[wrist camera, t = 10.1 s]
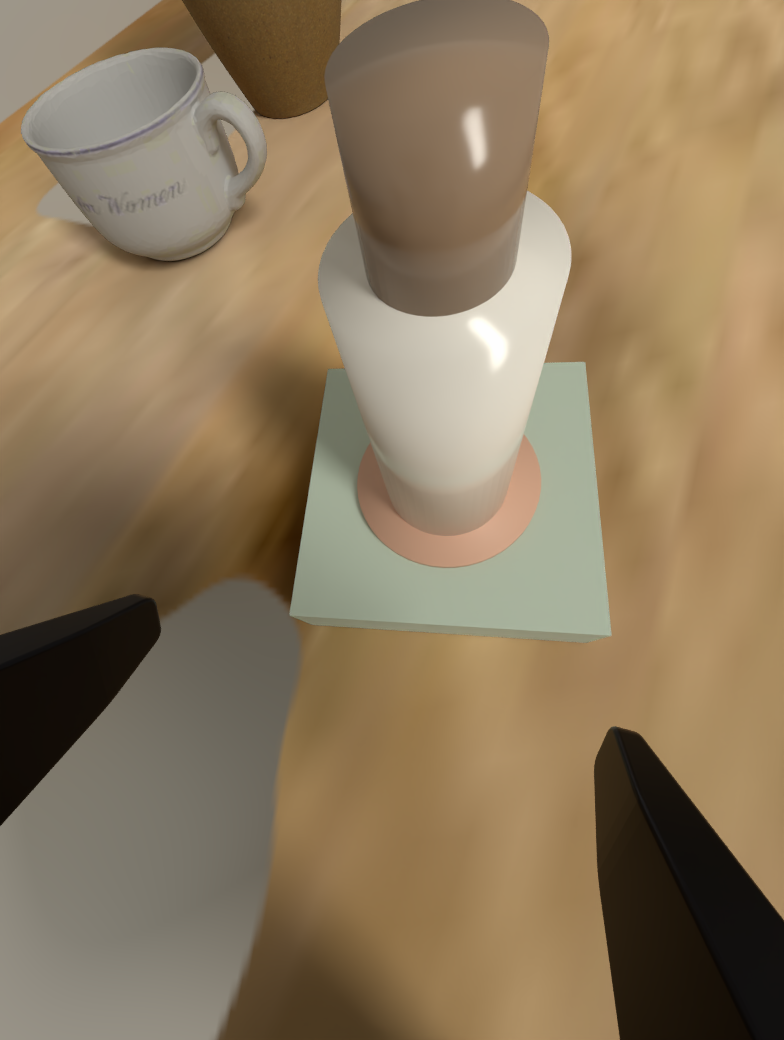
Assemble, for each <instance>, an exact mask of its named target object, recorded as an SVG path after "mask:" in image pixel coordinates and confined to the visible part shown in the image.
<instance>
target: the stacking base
mask: <svg viewBox="0 0 784 1040" xmlns="http://www.w3.org/2000/svg"><path fill="white" fill-rule="evenodd" d="M289 616H292V617H294V618H297V619H299V620H302V621H304V622H307V623H309V624H312V625H323V626H338V627H354V628H369V629H384V630H399V631H414V632H430V633H445V634H460V635H475V636H491V637H506V638H521V639H536V640H552V641H567V642H582V643H588V642H591V641H595V640H598V639H602V638H605V637H609V636H611V626H610V615H609V605H608V595H607V584H606V574H605V564H604V553H603V543H602V532H601V522H600V512H599V501H598V491H597V481H596V470H595V460H594V449H593V439H592V429H591V418H590V408H589V398H588V387H587V377H586V366H585V362H561V363H544V364H543V367H542V371H541V375H540V378H539V382H538V385H537V389H536V392H535V396H534V399H533V403H532V406H531V410H530V413H529V417H528V420H527V424H526V428H525V431H524V435H523V438H522V442H521V445H520V449H519V452H518V456H517V459H516V463H515V466H514V470H513V473H512V477H511V480H510V484H509V488H508V491H507V495H506V497H505V500H504V502H503V504H502V506H501V508H500V509H499V511H498V512H497V513H496V515H495V516H494V517H493V518H492V519H491V520H489V521H488V522H487V523H486V524H484V525H483V526H481V527H479V528H478V529H476V530H473V531H471V532H468V533H465V534H461V535H455V536H438V535H433V534H428V533H425V532H423V531H420V530H418V529H416V528H414V527H413V526H411V525H410V524H408V523H407V522H406V521H405V520H404V519H403V518H401V516H400V515H399V514H398V513H397V511H396V510H395V508H394V507H393V505H392V502H391V500H390V497H389V494H388V492H387V489H386V486H385V483H384V480H383V477H382V474H381V471H380V468H379V466H378V463H377V460H376V457H375V454H374V451H373V448H372V445H371V442H370V439H369V437H368V434H367V431H366V428H365V425H364V422H363V419H362V416H361V413H360V411H359V408H358V405H357V402H356V399H355V396H354V393H353V390H352V387H351V384H350V382H349V379H348V376H347V373H346V370H345V369H328V372H327V379H326V385H325V392H324V398H323V404H322V411H321V417H320V423H319V430H318V436H317V442H316V449H315V455H314V461H313V468H312V474H311V480H310V487H309V493H308V500H307V506H306V512H305V519H304V525H303V531H302V538H301V544H300V550H299V557H298V563H297V569H296V576H295V582H294V588H293V595H292V601H291V608H290V614H289Z"/></svg>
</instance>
